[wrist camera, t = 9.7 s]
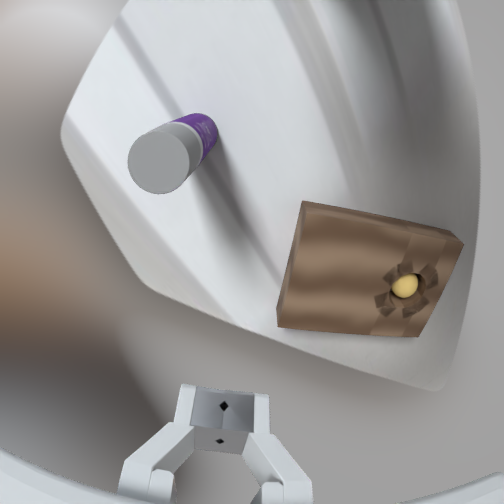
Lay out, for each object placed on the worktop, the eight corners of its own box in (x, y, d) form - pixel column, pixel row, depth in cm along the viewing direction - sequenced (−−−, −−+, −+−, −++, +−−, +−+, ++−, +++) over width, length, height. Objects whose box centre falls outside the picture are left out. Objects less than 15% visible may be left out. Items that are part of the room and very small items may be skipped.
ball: (392, 267, 39) (416, 283, 37) (403, 260, 41) (426, 274, 39) (381, 291, 41) (404, 307, 39) (393, 283, 43) (414, 297, 41)
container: (226, 130, 33) (205, 157, 20) (200, 161, 35) (165, 208, 22) (193, 104, 32) (150, 115, 19) (168, 137, 34) (114, 169, 20)
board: (302, 200, 37) (307, 212, 33) (449, 231, 38) (463, 244, 35) (276, 308, 45) (277, 327, 41) (409, 320, 46) (418, 337, 42)
